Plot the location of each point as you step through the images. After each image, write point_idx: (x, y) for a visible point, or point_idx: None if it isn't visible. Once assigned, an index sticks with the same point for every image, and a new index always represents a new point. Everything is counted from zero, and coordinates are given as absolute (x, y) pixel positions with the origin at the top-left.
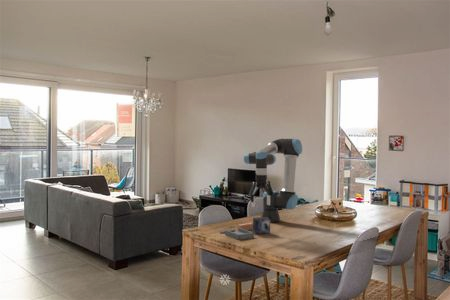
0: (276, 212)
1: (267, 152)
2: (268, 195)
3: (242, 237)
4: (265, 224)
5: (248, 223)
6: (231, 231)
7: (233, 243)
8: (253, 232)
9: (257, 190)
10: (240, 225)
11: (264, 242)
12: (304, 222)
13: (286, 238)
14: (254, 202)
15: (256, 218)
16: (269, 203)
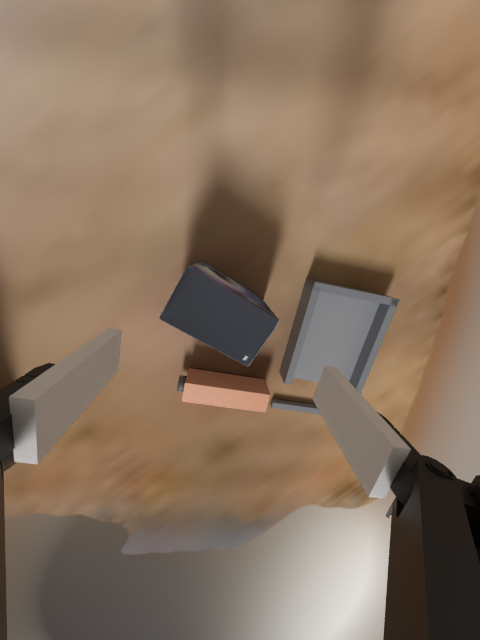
0: None
1: None
2: (34, 427)
3: (371, 292)
4: (224, 278)
5: (206, 398)
6: (289, 401)
7: (441, 276)
8: (316, 282)
9: (438, 618)
10: (268, 396)
11: (353, 178)
12: None
13: (210, 131)
14: (354, 394)
15: (253, 337)
16: (110, 337)
